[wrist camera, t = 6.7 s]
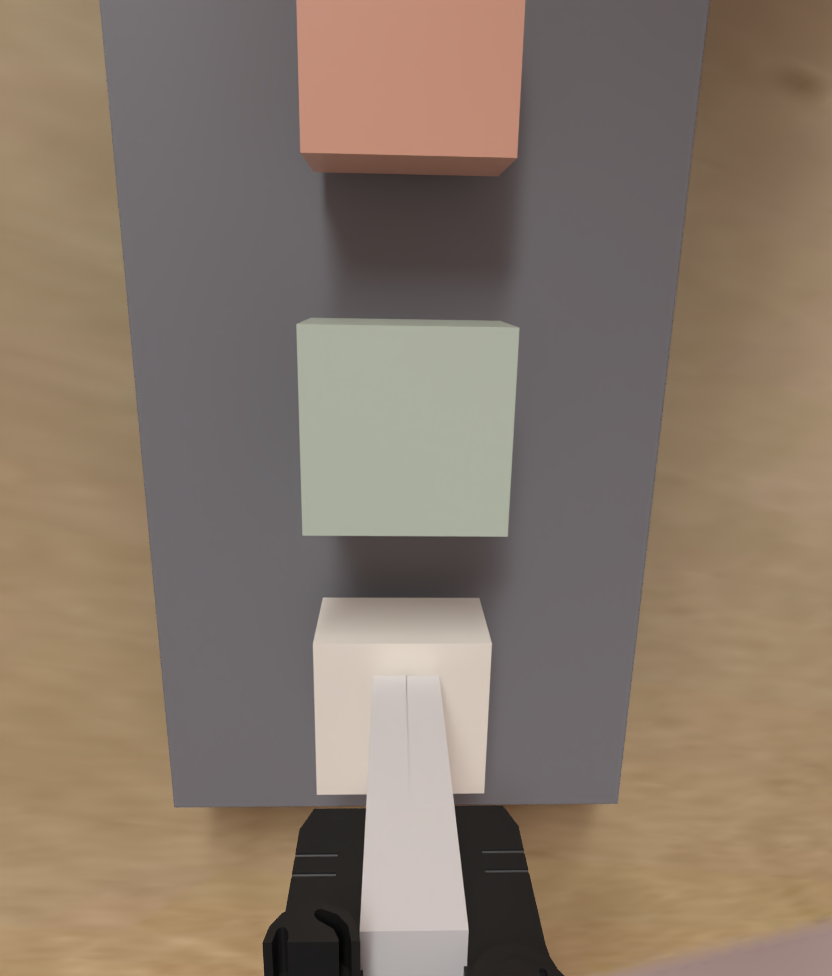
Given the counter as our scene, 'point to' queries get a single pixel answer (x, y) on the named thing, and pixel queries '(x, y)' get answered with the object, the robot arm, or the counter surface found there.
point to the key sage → (406, 426)
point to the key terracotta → (410, 85)
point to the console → (397, 295)
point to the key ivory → (399, 652)
